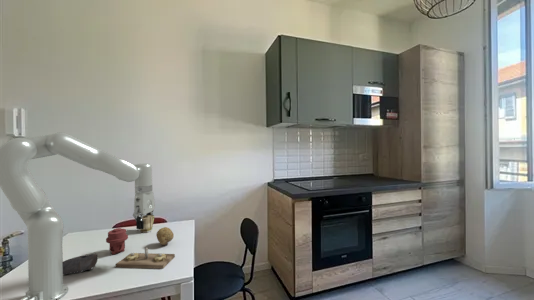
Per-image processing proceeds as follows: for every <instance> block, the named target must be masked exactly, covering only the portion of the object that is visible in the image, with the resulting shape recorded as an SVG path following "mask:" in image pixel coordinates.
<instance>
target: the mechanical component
mask: <svg viewBox="0 0 534 300" xmlns="http://www.w3.org/2000/svg"><path fill="white" fill-rule="evenodd" d="M128 239H129V235H128V234H127V229H125V228H121V227H117V228H113V229H111V230H109V231H108V232H107V237H106V239H105V243H108V244H109V252H111V255H116V254H119V253H123V252H125V250H126V249H125V248H126V241H127V240H128Z"/></svg>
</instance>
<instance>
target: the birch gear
mask: <svg viewBox="0 0 534 300" xmlns="http://www.w3.org/2000/svg"><path fill="white" fill-rule="evenodd" d="M139 216H140V217H141V215H139ZM143 223H144V228H143V229H138V230H139V231H140V230H144V229H148V228H152V229H153V227H154V222H153V217H152V216H150V215H146V214H145V216H144V215H143ZM152 226H153V227H152Z"/></svg>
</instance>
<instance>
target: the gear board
mask: <svg viewBox="0 0 534 300" xmlns="http://www.w3.org/2000/svg"><path fill="white" fill-rule="evenodd" d="M175 257H176V255H175V254H174V253H152V252H151V253H149V248H148V247H145V248H144V252H131V253H129V254H128V255H126V256H125V257H123V258H122V259H121V260H119V261H118V262H116V263H115V268H124V269H126V268H130V269H132V268H133V269H161V270H162V269H164V268H165V267H167V266H168V265H169V263H171V262H172V260H173V259H174V258H175Z"/></svg>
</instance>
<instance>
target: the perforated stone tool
mask: <svg viewBox="0 0 534 300" xmlns="http://www.w3.org/2000/svg"><path fill="white" fill-rule="evenodd" d="M98 259H99V258H98V254H97V253H90V254H85V255H84V254H82V255H79V256H75V257H72V258H69V259H65V260H64V261H63V275H69V274H78V273H83V272H85V271H90V270H92V269H93V268H94V267H96V265H97V263H98Z"/></svg>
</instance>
